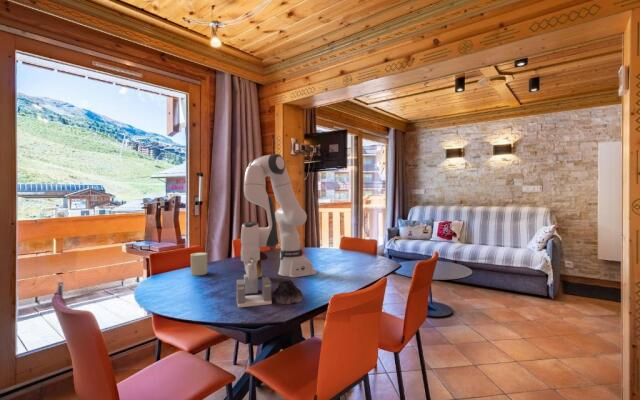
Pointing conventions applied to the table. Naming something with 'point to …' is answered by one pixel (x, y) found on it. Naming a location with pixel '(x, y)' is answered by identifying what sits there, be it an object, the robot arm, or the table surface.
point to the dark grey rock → (287, 293)
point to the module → (247, 288)
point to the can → (198, 264)
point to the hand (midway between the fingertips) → (250, 285)
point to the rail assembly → (254, 299)
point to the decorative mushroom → (258, 265)
